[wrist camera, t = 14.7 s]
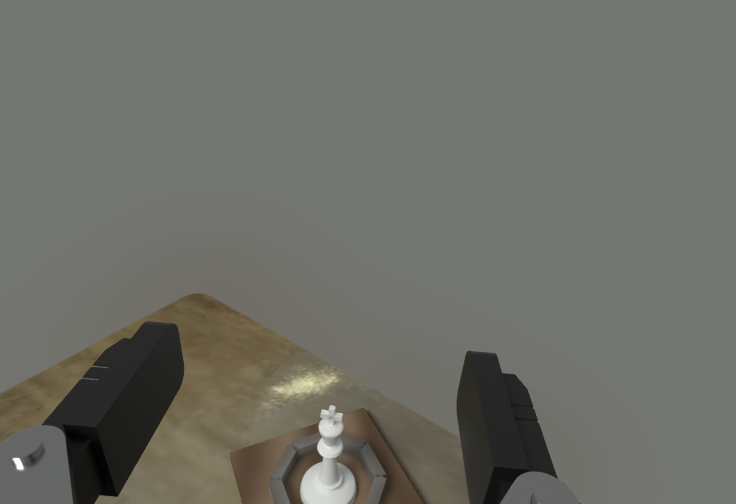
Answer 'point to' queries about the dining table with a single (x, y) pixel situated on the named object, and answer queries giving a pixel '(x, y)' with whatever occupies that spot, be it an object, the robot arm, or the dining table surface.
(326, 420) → the chess piece
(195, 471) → the dining table surface
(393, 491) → the board
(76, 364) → the dining table surface
